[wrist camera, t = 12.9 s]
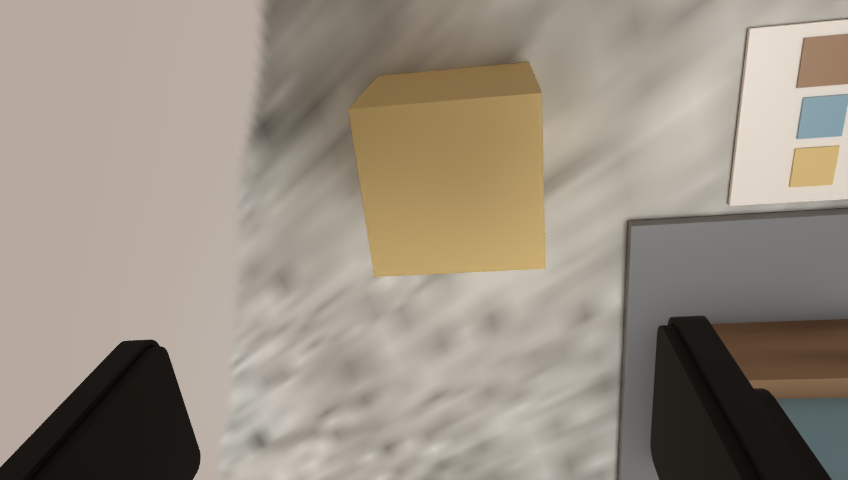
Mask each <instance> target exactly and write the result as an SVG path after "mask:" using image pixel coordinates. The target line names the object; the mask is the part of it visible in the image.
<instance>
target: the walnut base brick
mask: <svg viewBox="0 0 848 480" xmlns="http://www.w3.org/2000/svg"><path fill="white" fill-rule="evenodd" d="M711 325H712V327H713V328H714V330H715V331H716V333H717V334H718V336H719V337H720V339H721V340H722V342H723V343H724V345H725V346H726V348H727V349H728V351H729V352H730V354H731V355H732V357H733V358H734V360H735V361H736V363H737V364H738V366H739V367H740V369H741V370H742V372H743V373H744V375H745V376H746V378H747V379H748V381H749V382H750V384H751V385H752V387H753V388H754V389H756V388H764V389H766V390H768V391H769V392H770V393H771V394H772V395H773V396H774V397H775V399H803V398H848V319H834V320H805V321H777V322H748V323H719V324H711Z"/></svg>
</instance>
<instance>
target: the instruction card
mask: <svg viewBox="0 0 848 480" xmlns="http://www.w3.org/2000/svg"><path fill="white" fill-rule="evenodd" d="M841 199H848V19H841V20H830V21H819V22H809V23H798V24H788V25H777V26H766V27H756V28H748V33H747V42H746V50H745V59H744V68H743V76H742V85H741V94H740V103H739V111H738V120H737V129H736V137H735V146H734V155H733V163H732V172H731V181H730V190H729V198H728V205H729V206H738V205H755V204H772V203H789V202H806V201H823V200H841Z"/></svg>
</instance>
